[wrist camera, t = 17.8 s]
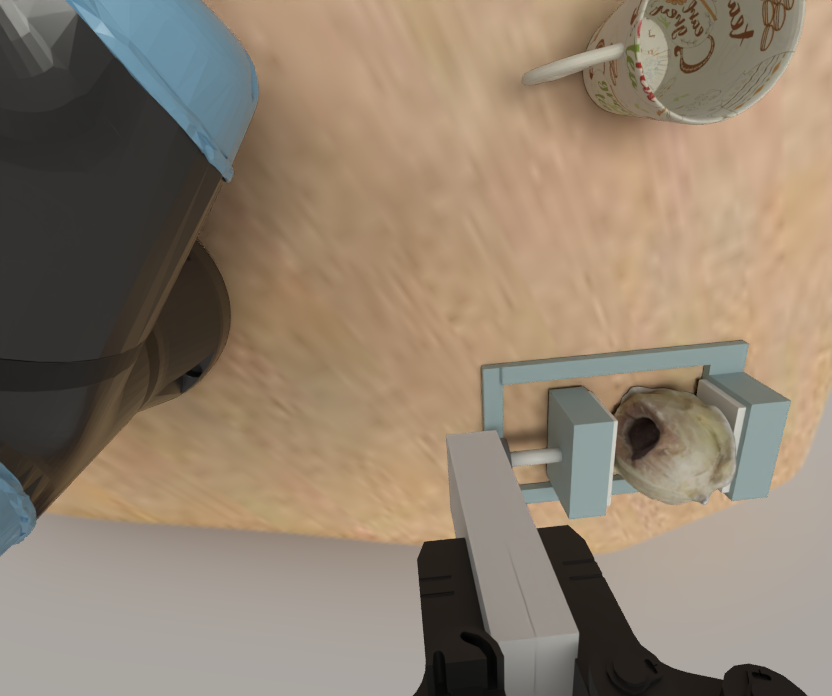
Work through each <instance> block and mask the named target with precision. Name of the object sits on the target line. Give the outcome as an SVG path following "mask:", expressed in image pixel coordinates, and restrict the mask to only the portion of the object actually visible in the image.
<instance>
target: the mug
mask: <svg viewBox="0 0 832 696" xmlns="http://www.w3.org/2000/svg"><path fill="white" fill-rule="evenodd" d="M805 1H806V0H626V1H625V2H624V3H623V4H622V5H621V6H620V7H619V8H618V9H617V10H616V11H615V12H614V13H613V14H612V15H611V16H610V17H609V18H608V19H607V20H606V21H605V22H604V23H603V24H602V25H601V26H600V27H599V29H598V30H597V31H596V32H595V34H594V35H593V37H592V39H591V40H590V42H589V45H588V47H587V50H586V52H584V53H580V54H577V55H573V56H570V57H567V58H564V59H561V60H558V61H555V62H552V63H549V64H546V65H543V66H541V67H538V68H535V69H533V70H531V71H529V72H527V73H526V74H524V76H523V77H522V80H521V81H522V83H523V84H524V85H528V86H530V85H536V84H539V83H543V82H548V81H553V80H557V79H559V78H562V77H565V76H568V75H571V74H574V73H577V72H580V71H582V70H583V79H584V84H585V87H586V90H587V92H588V94H589V96H590V97H591V99H592V100H593V101H594V102H595V103H596V104H597V105H598V106H599V107H601V108H602V109H604V110H606V111H609V112H612V113H616V114H622V115H629V116H635V117H642V118H648V119H655V120H661V121H668V122H674V123H681V124H690V125H703V124H712V123H717V122H721V121H724V120H727V119H729V118H732V117H734V116H736V115H738V114H740V113H742V112H744V111H745V110H747V109H748V108H750V107H751V106H753V105H754V104H755V103H757V102H758V101H759V100H760V99H761V98H762V97H764V96H765V95H766V94H767V93H768V92H769V91H770V89H771V88H772V87H773V86H774V85H775V84H776V82H777V81H778V80H779V78H780V77H781V76H782V74H783V72H784V71H785V69H786V68H787V66H788V64H789V62H790V60H791V59H792V56H793V54H794V52H795V50H796V47H797V44H798V42H799V39H800V35H801V32H802V27H803V22H804V16H805Z"/></svg>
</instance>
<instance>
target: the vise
mask: <svg viewBox="0 0 832 696" xmlns="http://www.w3.org/2000/svg"><path fill="white" fill-rule="evenodd" d="M748 346H749V343H747V342H745V341H743V340H739V341H729V342H718V343H708V344H698V345H687V346H677V347H667V348H656V349H646V350H636V351H625V352H615V353H605V354H595V355H584V356H574V357H564V358H553V359H543V360H533V361H522V362H512V363H502V364H491V365H481V370H482V405H483V431H491V430H496V431H497V433H498V436H499V438H503V385H508V384H519V383H529V382H539V381H549V380H559V379H569V378H579V377H590V376H600V375H610V374H620V373H630V372H640V371H651V370H661V369H671V368H681V367H691V366H701V365H704V370H703V376H702V379H701V380H699V383H698V390H697V396H696V397H697V398H699V399H700V400H701V401H702V402H704V403H706V404H708V405H713V406H716V407H717V408H718V409H720V410H721V412H722V413H723V414H724V415H725V417H726V419H727V420H728V422H729V424H730V427H731V429H732V432H733V434H734V437H735V442H736V472H735V476H734V478H733V480H732V482H731V483H730V484H729V485H728V486H726V487H723V488H720V489H718V490H719V491H720V492H721V493H724V494H725V495H726V496H727V497H728V498H729V499H730V500H731V501H738V500H747V499H756V498H765V497H768V493H769V489H770V485H771V480H772V476H773V472H774V468H775V464H776V460H777V456H778V452H779V448H780V444H781V439H782V435H783V431H784V427H785V423H786V419H787V415H788V411H789V407H790V402H791V401H790V400H789V399H787V398H785V397H784V396H782V395H781V394H779V393H777V392H776V391H774V390H772V389H771V388H769V387H767V386H766V385H764V384H762V383H761V382H759V381H758V380H756V379H754V378H753V377H751V376H749V375H748V374H746V373H744V372H743V371H744V366H745V361H746V356H747V351H748ZM519 487H520V489H521V492H522V494H523V497H524V499H525V502H526V504H531V503H540V502H550V501H559V498H558V496H557V495H556V493H555V491H554V489H553V487H552V485H551V483H550V482H543V483H533V484H524V485H519ZM634 492H639V491H638V490H636V489H635V488H633V487H632V486H631V485H630V484H629V483H627V481H626V480H625V479H624V478H623V477H622V476H621V475H620V474H619V475H613V480H612V491H611V495H615V494H625V493H634Z"/></svg>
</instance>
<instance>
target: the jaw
mask: <svg viewBox="0 0 832 696" xmlns="http://www.w3.org/2000/svg"><path fill="white" fill-rule="evenodd" d="M617 426H618V421H617V419H616V418H615V417H614V416H613V415H612V414H611V413H610V411H609V410H608V409H607V408H606V407H605V406H604V405H603V403H602V402H601V401H600V400H599V399H598V398H597V397H596V395H595V394H594V393H593V392H592V391H588V390H587V389H586V388H585V387H584V386H583V387H573V388H563V389H553V390H549V415H548V448H544V449H534V450H525V451H515V452H510V450H509V446H508V443H507V440H506V439H505V438H500V441H501V443H502V445H503V448H504V450H505V453H506V455H507V458H508V460H509V463H510V465H511V467H516V466H525V465H535V464H545V463H547V477H548V479H549V481H550V483H551V485H552V487H553V489H554V491H555V493H556V495H557V496H558V498H559V500H560V502H561V504H562V506H563V508H564V510H565V512H566V514H567V516H568V518H569V519H578V518H587V517H596V516H606V506H610V502H611V491H612V480H613V469H614V459H615V448H616V437H617Z"/></svg>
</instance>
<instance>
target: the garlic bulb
mask: <svg viewBox="0 0 832 696" xmlns="http://www.w3.org/2000/svg"><path fill="white" fill-rule="evenodd" d="M613 416H614V417H615V418H616V419H617V421H618V426H617V437H616V448H615V459H614V469H613V472H616V473H618V474H620V475H621V476H622V477H623V478H624V479H625V480H626V481H627V483H629V484H630V485H631V486H632V487H633V488H635V489H636V490H638V491H639V492H640V493H642V494H644V495H645V496H647V497H649V498H651V499H655V500H658V501H661V502H663V503H666V504H671V505H678V504H683V503H687V502H691V501H695V502H699V503H701V504H703V505H706V504H707V503H708V501H709V496H710V495H711V493H712V492H713V491H715V490H717V489H720V488H723V487H726V486H728V485H729V484H730V483H731V482H732V480H733V478H734V476H735V472H736V442H735V437H734V434H733V432H732V429H731V427H730V424H729V422H728V420H727V419H726V417H725V415H724V414H723V413H722V412H721V410H720V409H718V408H717V407H716V406H713V405H708V404H706V403H704V402H702V401H701V400H700V399H699V398H697V397H696V396H695V395H694V394H692V393H689V392H687V391H675V390H672V389H666V388H657V389H648V388H645V387H632V388H631V389H630V390H629V392H628V393H627V394H625V395H624V396H623V397H622V401H621V404H620V406H619V407H618V409H617V411H616V412H615V413H614V414H613Z"/></svg>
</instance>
